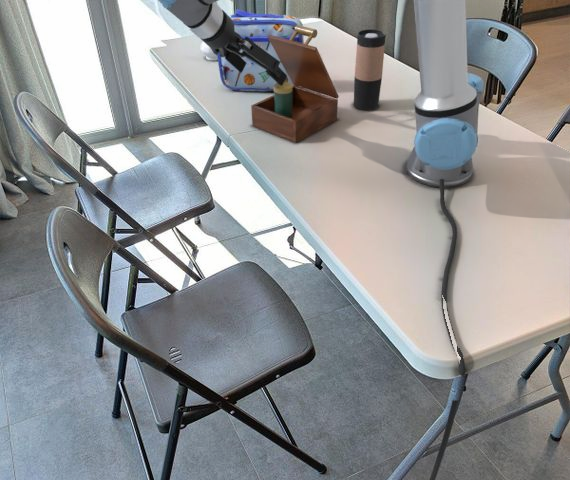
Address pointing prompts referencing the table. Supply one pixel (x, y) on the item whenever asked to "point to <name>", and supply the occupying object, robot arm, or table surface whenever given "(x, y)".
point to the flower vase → (208, 50)
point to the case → (296, 115)
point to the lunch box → (258, 32)
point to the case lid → (303, 62)
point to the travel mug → (368, 69)
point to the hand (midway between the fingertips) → (262, 73)
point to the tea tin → (283, 99)
